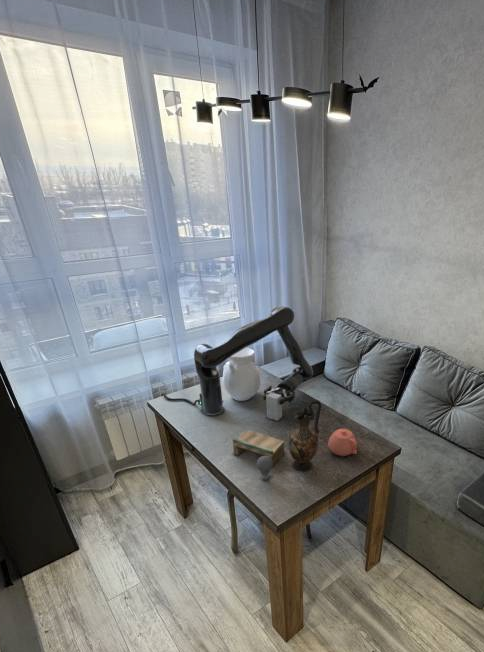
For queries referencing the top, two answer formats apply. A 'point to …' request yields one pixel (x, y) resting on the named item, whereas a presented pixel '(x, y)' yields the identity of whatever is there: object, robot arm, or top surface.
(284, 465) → the top surface
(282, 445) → the wooden step stool
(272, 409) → the cosmetic box
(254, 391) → the pitcher
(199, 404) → the robot arm
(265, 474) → the light bulb
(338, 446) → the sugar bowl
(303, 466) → the vase
